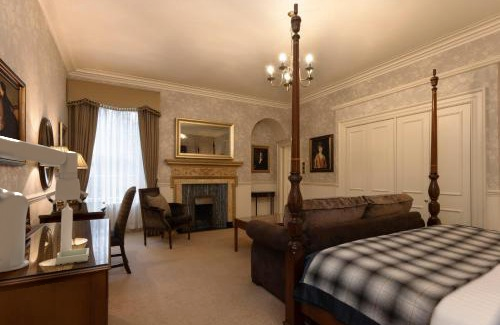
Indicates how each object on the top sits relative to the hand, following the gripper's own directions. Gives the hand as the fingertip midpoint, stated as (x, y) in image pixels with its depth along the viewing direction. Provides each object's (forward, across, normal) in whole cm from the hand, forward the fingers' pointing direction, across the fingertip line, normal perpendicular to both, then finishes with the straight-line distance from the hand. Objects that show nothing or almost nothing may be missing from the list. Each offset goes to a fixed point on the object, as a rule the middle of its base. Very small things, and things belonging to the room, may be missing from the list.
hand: (67, 211), depth 131 cm
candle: (+21, 0, 0) cm, 21 cm away
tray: (+21, +3, -11) cm, 24 cm away
